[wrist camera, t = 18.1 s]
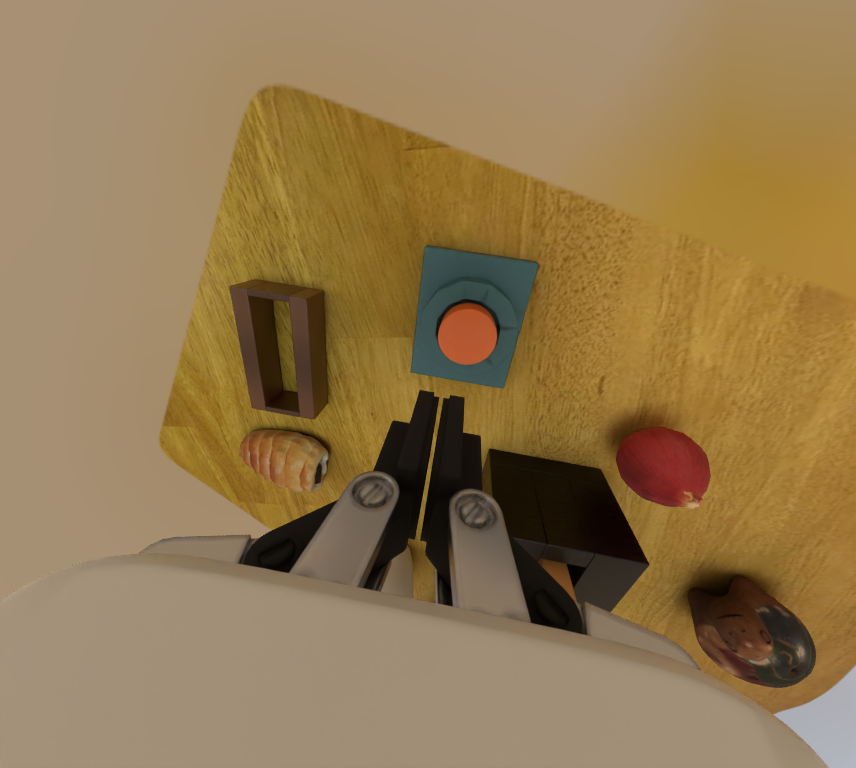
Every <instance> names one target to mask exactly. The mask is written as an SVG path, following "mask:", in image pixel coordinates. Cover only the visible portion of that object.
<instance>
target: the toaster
mask: <svg viewBox="0 0 856 768" xmlns="http://www.w3.org/2000/svg"><path fill="white" fill-rule="evenodd" d="M482 490H483V492H485V493H487V494H489V495H490V496H491V497H493V498H494V499H495V501H496V502H497V503H498V504H499V507H500V509H501V511H502V515H503V518H504V522H505V526H506V530H507V532H508V533H509V534H510V535H511V536H512V537H513V538H514V539H515V540H516V541H517V542H518V543H519V544H520V545H521V546H522V547H523V548H524V549H525V550H526V551H527V552H528V553H529V554H530V555H531V556H532V557H533V558H534V559H535V560H536V561H537V562H538V561H539V560H540V558H541V559H546V560H551V561H556V562H561V563H566V564H567V568H568V571H569V575H570V579H571V582H572V586H573V590H574V594H575V597H576V601H577V603H579V604H581V605H583V604H584V602H587V603H589V604H592V605H594V606H596V607H599V608H601V609H603V610H605V611H608V612H611V611H612V610H613V609H614V607H615V606H616V605H617V604H618V602H619V601H620V600H621V599H622V598H623V596H624V595H625V594H626V593H627V592H628V590H629V589H630V588H631V587H632V585H633V584H634V583H635V582H636V581H637V579H638V578H639V577H640V576H641V575H642V573H643V572H644V571H645V570H646V568H647V567H648V566H649V563H648V561H647V559H646V557H645V555H644V553H643V551H642V549H641V547H640V545H639V543H638V541H637V539H636V537H635V535H634V533H633V531H632V529H631V527H630V526H629V524H628V522H627V520H626V518H625V516H624V514H623V512H622V510H621V508H620V506H619V504H618V502H617V500H616V498H615V496H614V494H613V492H612V490H611V488H610V486H609V485H608V482H607V481H606V479H605V477H604V475H603V473H602V471H601V469H597V468H591V467H586V466H580V465H575V464H570V463H564V462H559V461H553V460H548V459H542V458H537V457H531V456H526V455H520V454H515V453H510V452H504V451H499V450H493V449H489V451H488V454H487V458H486V461H485V465H484V468H483V472H482Z"/></svg>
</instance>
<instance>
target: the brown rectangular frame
mask: <svg viewBox="0 0 856 768" xmlns="http://www.w3.org/2000/svg"><path fill="white" fill-rule="evenodd" d="M229 288H230V293H231V299H232V304H233V309H234V315H235V320H236V325H237V331H238V336H239V342H240V347H241V352H242V358H243V363H244V368H245V374H246V379H247V385H248V390H249V395H250V401H251V406H252V408H254V409H259V410H265V411H270V412H275V413H280V414H286V415H291V416H297V417H303V418H308V419H315V418H316V417H317V416H318V415H319V413H320V412H321V411H322V410H323V408H324V407H325V406H326V404H327V403H328V391H327V366H326V341H325V315H324V291H323V290H317V289H311V288H305V287H299V286H293V285H286V284H280V283H274V282H267V281H261V280H255V279H254V280H250V281H247V282H243V283H239V284H236V285H232V286H229ZM272 299H273V300H279V301H285V302H289V305H290V316H291V326H292V337H293V347H294V358H295V368H296V379H297V389H298V393H293V392H288V391H283V387H282V379H281V370H280V362H279V354H278V346H277V338H276V329H275V321H274V313H273V305H272Z"/></svg>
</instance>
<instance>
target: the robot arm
mask: <svg viewBox="0 0 856 768" xmlns="http://www.w3.org/2000/svg"><path fill="white" fill-rule="evenodd" d="M438 402H439V397H435V396H434V392H428V391H422V390H420V391H419V395H418V398H417V401H416V405H415V408H414V411H413V415H412V418H411V421H410V423H405V422H399V421H393V422H392V424H391V426H390V429H389V432H388V434H387V437H386V439H385V442H384V444H383V447H382V450H381V452H380V455H379V457H378V460H377V463H376V465H375V468H374V470H373V471H368V472H365V473H362V474H360V475H358V476H356V477H355V478H354V479H353V480H352V481H351V482H350V483H349V485H348V486H347V487H346V489H345V490H344V492H343V493H342V495H341V496H340V498H339V499H338V500H337V501H335V502H332V503H330V504H328V505H326V506H324V507H322V508H319V509H317V510H315V511H313V512H311V513H309V514H307V515H304V516H302V517H300V518H298V519H296V520H294V521H291V522H289V523H287V524H285V525H283V526H281V527H279V528H276V529H274V530H272V531H270V532H268V533H267V534H265V535H263V536H262V537H260V538H258V539H251V536H250V535H228V536H197V537H173V538H168V539H163V540H160V541H158V542H156V543H153V544H151V545H150V546H148V547H147V548H145V549H144V550H142V551H141V552H140V553H138V554H130V555H122V556H114V557H108V558H102V559H97V560H91V561H87V562H83V563H79V564H76V565H72V566H69V567H66V568H63V569H59V570H57V571H55V572H52V573H50V574H48V575H45V576H42V577H40V578H38V579H36V580H34V581H32V582H31V583H29V584H27V585H25V586H24V587H22V588H20V589H18V590H17V591H15V592H14V593H12V594H11V595H9V596H7V597H6V598H4V599H3V600H1V601H0V768H829V767H828V766H827V765H826V764H825V763H824V761H823V760H822V759H821V758H820V757H819V756H818V755H817V754H816V752H815V751H814V750H813V749H812V748H811V747H810V746H809V745H808V744H807V743H806V742H805V741H804V740H803V739H802V738H801V737H799V736H798V735H797V734H796V733H795V732H794V731H793V730H792V729H791V728H789V727H788V726H787V725H786V724H784V723H783V722H782V721H781V720H779V719H778V718H777V717H775V716H774V715H773V714H772V713H770V712H769V711H768V710H766V709H765V708H763V707H762V706H760V705H759V704H758V703H756V702H755V701H753V700H752V699H750V698H748V697H747V696H745V695H744V694H742V693H740V692H739V691H737V690H735V689H734V688H732V687H730V686H729V685H727V684H725V683H723V682H722V681H720V680H718V679H716V678H714V677H712V676H710V675H709V674H707V673H705V672H703V671H701V670H700V668H699V667H698V665H697V664H696V663H695V661H694V660H693V659H692V657H691V656H690V655H689V654H688V653H687V652H686V651H685V650H684V649H683V648H682V647H681V646H680V645H678V644H677V643H675V642H674V641H672V640H670V639H669V638H667V637H665V636H663V635H661V634H658V633H656V632H654V631H651V630H649V629H647V628H644V627H642V626H640V625H638V624H635V623H633V622H631V621H628V620H626V619H624V618H621V617H619V616H617V615H615V614H612V613H610V612H608V611H605V610H603V609H601V608H599V607H596V606H594V605H592V604H589V603H587V602H584V604H583V605H581V604H579V603H577V602H575V601H574V600H573V598H572V597H571V596H570V595H569V594H568V592H567V591H566V590H565V589H564V588H563V587H562V586H561V585H560V584H559V583H558V582H557V581H556V580H555V579H554V578H553V577H552V576H551V575H550V574H549V573H548V572H547V571H546V570H545V569H544V568H543V567H542V566H541V565H540V564H539V563H538V562H537V561H536V560H535V559H534V558H533V557H532V556H531V555H530V554H529V553H528V552H527V551H526V550H525V549H524V548H523V547H522V546H521V545H520V544H519V543H518V542H517V541H516V540H515V539H514V538H513V537H512V536H511V535H510V534H509V533H508V532H507V530H506V526H505V522H504V518H503V515H502V511H501V509H500V507H499V504H498V503H497V502H496V501H495V499H494V498H493V497H491V496H490V495H489V494H487V493H485V492H483V490H482V461H481V437H480V436H479V435H474V434H468V433H463V421H464V397H458V396H452V395H450V398H449V399H447V398H444V400H443V405H442V411H441V417H440V423H439V429H438V435H437V441H436V447H435V452H434V458H433V465H432V471H431V477H430V483H429V489H428V496H427V502H426V508H425V514H424V521H423V527H422V533H421V539H420V541H425V542H427V544H426V551H425V553H426V556H427V557H428V559H429V560H430V561H431V563H432V564H433V566H434V567H435V571H434V585H435V603H433V602H428V601H423V600H418V599H413V598H408V597H403V596H398V595H394V594H389V593H384V592H381V590H382V588H383V585H384V583H385V580H386V577H387V575H388V572H389V570H390V567H391V564H392V559H393V558H395V557H396V556H398V555H399V554H401V553H403V552H404V551H405V549H406V548H407V543H408V538H410V539H415V536H416V530H417V525H418V519H419V514H420V508H421V502H422V497H423V491H424V485H425V480H426V474H427V469H428V463H429V457H430V451H431V445H432V439H433V433H434V426H435V420H436V414H437V408H438Z"/></svg>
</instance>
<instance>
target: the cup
mask: <svg viewBox="0 0 856 768" xmlns="http://www.w3.org/2000/svg"><path fill="white" fill-rule="evenodd" d="M381 592H384V593H389V594H394V595H398V596H403V597H408V598H413V566H412V558H411V551H410V548H409V546H408V545H407V548H406V549H405V551H404V552H403V553H401V554H399V555H398V556H396V557H395V558H393V559H392V564H391V567H390V570H389V572H388V575H387V577H386V580H385V583H384V585H383V588H382V590H381Z"/></svg>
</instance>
